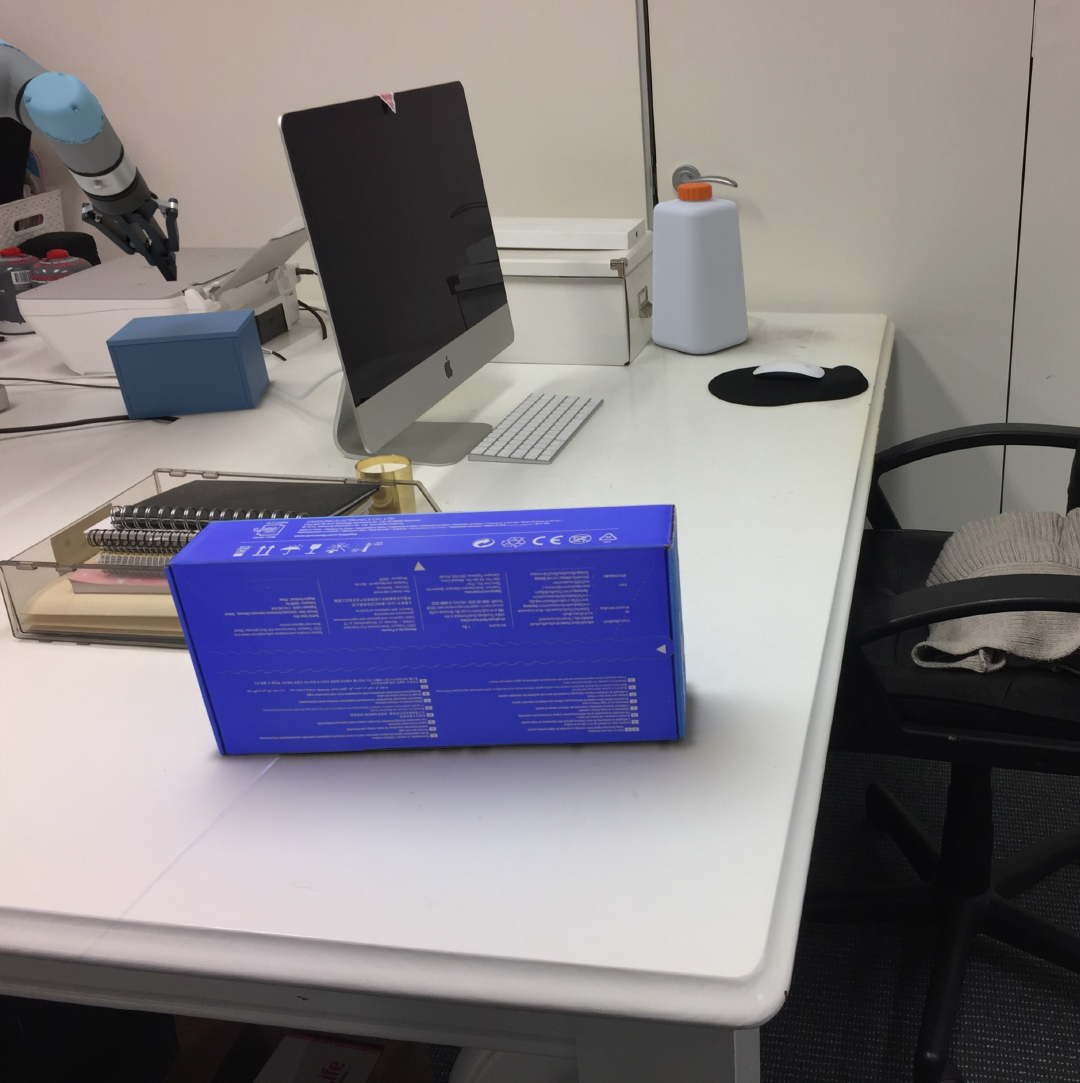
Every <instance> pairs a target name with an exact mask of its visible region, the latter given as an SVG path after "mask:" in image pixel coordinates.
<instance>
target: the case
mask: <svg viewBox="0 0 1080 1083" xmlns="http://www.w3.org/2000/svg"><path fill="white" fill-rule="evenodd" d="M107 350H108V353H109V357H110V360H111V363H112V366H113V370H114V373H115V376H116V379H117V384H118V386H119V390H120V393H121V396H122V400H123V403H124V405H125V409H126V412H127V416H128V420H140V419H151V418H162V417H163V418H165V417H173V416H185V415H197V414H208V413H219V412H231V411H242V410H243V411H244V410H253V409H256V407H257V405H258V403H259V402H260V401H261V398H262V397H263V395H264V394H265V392H266V390H267V388H268V386H270V383H271V382H270V378H269V374H268V369H267V365H266V360H265V356H264V352H263V347H262V343H261V339H260V334H259V330H258V326H257V320H256V317H255V315H254V316H253V317H252V319H251V320H250V321H249V322H248V324H247V325H246V326H245V327H244V329H243V330H242V331H241V332H240V334H239V335H238V336H237V337H225V338H212V339H199V340H186V341H173V342H160V343H147V344H135V345H122V346H109V347H107Z"/></svg>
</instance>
